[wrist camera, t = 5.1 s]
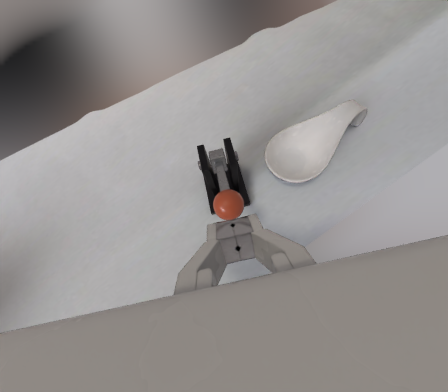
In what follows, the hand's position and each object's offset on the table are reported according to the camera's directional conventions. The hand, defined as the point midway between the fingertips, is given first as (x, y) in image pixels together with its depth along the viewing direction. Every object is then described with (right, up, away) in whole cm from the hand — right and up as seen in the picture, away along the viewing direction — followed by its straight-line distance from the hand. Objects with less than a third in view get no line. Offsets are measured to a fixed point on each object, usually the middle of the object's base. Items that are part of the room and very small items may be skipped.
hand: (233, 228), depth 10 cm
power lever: (0, +3, +12) cm, 12 cm away
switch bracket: (0, +4, +25) cm, 25 cm away
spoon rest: (+19, +13, +26) cm, 34 cm away
